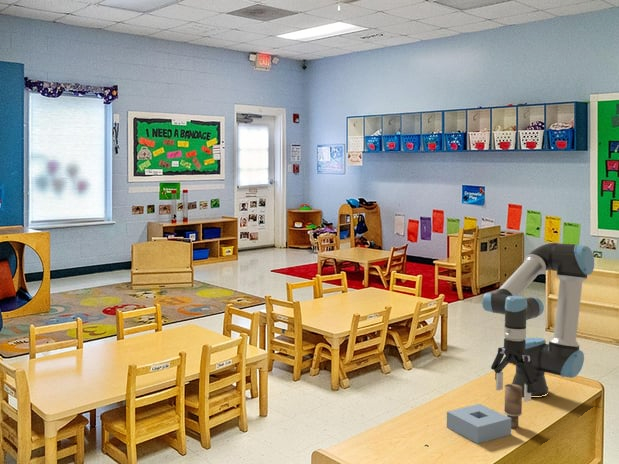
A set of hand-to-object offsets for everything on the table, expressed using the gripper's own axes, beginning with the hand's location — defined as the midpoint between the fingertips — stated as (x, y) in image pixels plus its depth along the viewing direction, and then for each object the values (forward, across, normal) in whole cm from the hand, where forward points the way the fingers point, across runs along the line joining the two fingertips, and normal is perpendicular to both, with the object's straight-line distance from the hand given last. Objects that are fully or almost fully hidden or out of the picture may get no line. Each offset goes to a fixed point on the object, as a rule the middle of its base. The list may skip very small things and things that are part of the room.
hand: (512, 395), depth 228 cm
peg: (+12, 0, 0) cm, 12 cm away
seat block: (+12, -3, -14) cm, 18 cm away
